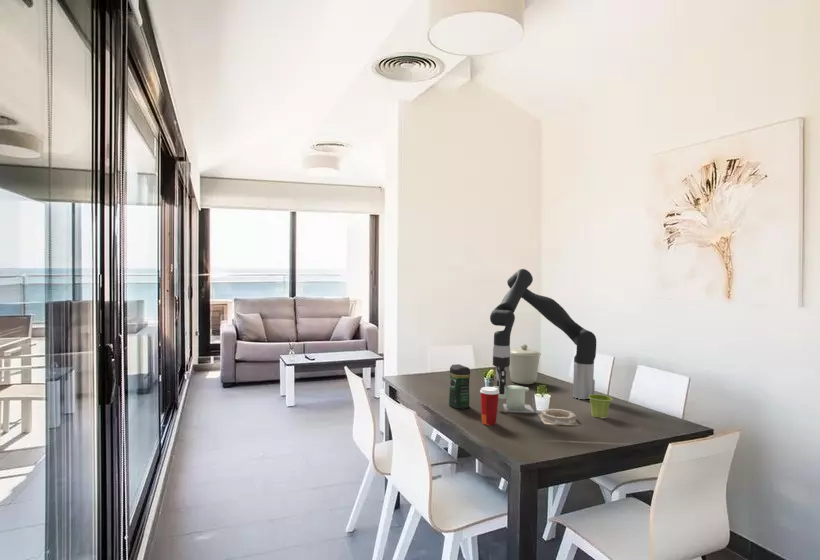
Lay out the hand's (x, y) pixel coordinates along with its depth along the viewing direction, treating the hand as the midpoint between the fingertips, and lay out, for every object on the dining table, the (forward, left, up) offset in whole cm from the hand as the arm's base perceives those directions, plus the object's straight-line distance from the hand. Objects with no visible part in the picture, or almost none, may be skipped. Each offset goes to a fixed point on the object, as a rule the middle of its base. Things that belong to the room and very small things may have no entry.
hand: (500, 391), depth 221 cm
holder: (-22, +14, -8) cm, 27 cm away
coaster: (-8, 0, -8) cm, 11 cm away
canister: (-19, -54, -8) cm, 58 cm away
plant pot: (-41, +7, -8) cm, 42 cm away
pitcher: (-4, 0, -7) cm, 8 cm away
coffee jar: (+18, -2, -8) cm, 20 cm away
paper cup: (+7, +21, -8) cm, 24 cm away
